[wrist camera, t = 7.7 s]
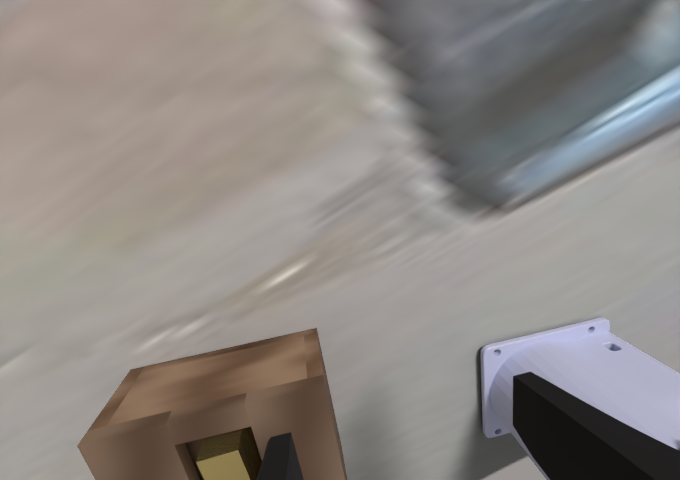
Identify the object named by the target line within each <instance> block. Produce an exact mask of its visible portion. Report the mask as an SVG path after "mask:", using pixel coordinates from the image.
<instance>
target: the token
mask: <svg viewBox="0 0 680 480" xmlns="http://www.w3.org/2000/svg"><path fill="white" fill-rule="evenodd" d="M196 463H197V465H198V468H199V470H200V472H201V474H202V476H203V478H204V480H256V479H257V476H258V473H259V470H260V467H261V463H262V460H261V457H260V453H259V450H258V447H257V444H256V441H255V438H254V434H253V431H252V428H251V427H247V428H243V429H239V430H235V431H231V432H227V433H223V434H219V435H215V436H211V437H207V438H203V440H202V444H201V447H200V450H199V454H198V457H197V461H196Z"/></svg>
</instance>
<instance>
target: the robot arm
mask: <svg viewBox="0 0 680 480" xmlns="http://www.w3.org/2000/svg"><path fill="white" fill-rule="evenodd" d="M609 330H610V322H609V321H608V320H607V319H605V318H597V319H593V320H589V321H585V322H581V323H577V324H572V325H568V326H564V327H560V328H556V329H552V330H547V331H543V332H539V333H535V334H531V335H527V336H523V337H518V338H514V339H510V340H506V341H502V342H498V343H494V344H489V345H486V346H484V347H483V348H482V349H481V386H482V420H483V433H484V434H485V436H486V437H487V438H493V437H497V436H501V435H504V434H508V433H512V435H513V436H514V437H515V439H516V440H517V441H518V443H519V444H520V445H521V447H522V448H523V449H524V450H525V452H526V453H527V454H528V456H529V457H530V458H531V460H532V461H533V462H534V463H535V465H536V466H537V467H538V469H539V470H540V471H541V473H542V474H543V475H544V477H545V478H546V479H547V480H680V374H679V373H678V372H676V371H674V370H673V369H671V368H669V367H667V366H666V365H664V364H662V363H661V362H659V361H657V360H656V359H654V358H652V357H651V356H649V355H647V354H645V353H644V352H642V351H640V350H639V349H637V348H635V347H634V346H632V345H630V344H628V343H627V342H625V341H623V340H622V339H620V338H618V337H617V336H615V335H613V334H612V333H610V332H609ZM495 350H496V352H494V351H495ZM256 480H304V479H303V475H302V471H301V467H300V464H299V460H298V456H297V453H296V449H295V445H294V441H293V438H292V434H291V432H289V433H285V434H281V435H277V436H274V437H271V438H270V439H269V440H268V443H267V446H266V450H265V454H264V457H263V460H262V463H261V467H260V470H259V473H258V476H257V479H256Z"/></svg>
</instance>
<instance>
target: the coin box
mask: <svg viewBox="0 0 680 480" xmlns="http://www.w3.org/2000/svg"><path fill="white" fill-rule="evenodd" d="M247 427H251V428H252V431H253V434H254V438H255V441H256V444H257V447H258V450H259V453H260V457H261V460H263V457H264V454H265V450H266V446H267V443H268V440H269V439H270V438H271V437H274V436H277V435H281V434H285V433H289V432H291V434H292V438H293V441H294V445H295V449H296V453H297V456H298V460H299V464H300V467H301V471H302V475H303V479H304V480H347V476H346V470H345V464H344V459H343V453H342V447H341V442H340V438H339V433H338V428H337V423H336V419H335V414H334V409H333V404H332V400H331V395H330V390H329V385H328V381H327V376H326V371H325V366H324V362H323V357H322V352H321V347H320V342H319V338H318V333H317V328H315V329H311V330H306V331H302V332H297V333H293V334H288V335H284V336H279V337H275V338H270V339H266V340H262V341H257V342H253V343H248V344H244V345H239V346H235V347H230V348H226V349H221V350H217V351H212V352H208V353H203V354H199V355H194V356H190V357H186V358H181V359H177V360H172V361H168V362H163V363H159V364H154V365H150V366H145V367H141V368H136V369H132V370H130V372H129V373H128V374H127V376H126V377H125V379H124V380H123V381H122V383H121V384H120V386H119V387H118V389H117V390H116V391H115V393H114V394H113V396H112V397H111V399H110V400H109V401H108V403H107V404H106V406H105V407H104V409H103V410H102V411H101V413H100V414H99V416H98V417H97V418H96V420H95V421H94V423H93V424H92V426H91V427H90V428H89V430H88V431H87V433H86V434H85V436H84V437H83V438H82V440H81V441H80V443H79V444H78V446H77V447H78V448H79V450H80V452H81V454H82V456H83V458H84V459H85V461H86V463H87V465H88V467H89V469H90V470H91V472H92V474H93V476H94V478H95V480H204V478H203V476H202V474H201V472H200V470H199V468H198V465H197V463H196V461H197V457H198V454H199V450H200V447H201V444H202V440H203V438H207V437H211V436H215V435H219V434H223V433H227V432H231V431H235V430H239V429H243V428H247Z"/></svg>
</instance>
